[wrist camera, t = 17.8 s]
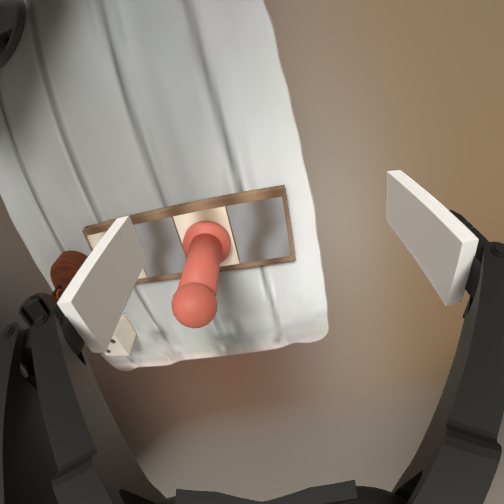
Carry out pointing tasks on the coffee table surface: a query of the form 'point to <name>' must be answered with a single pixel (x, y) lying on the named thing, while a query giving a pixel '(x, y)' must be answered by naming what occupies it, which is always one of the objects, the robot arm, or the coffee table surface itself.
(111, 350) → the die
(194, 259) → the pawn
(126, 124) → the coffee table surface
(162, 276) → the board
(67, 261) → the music box
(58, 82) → the coffee table surface
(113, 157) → the coffee table surface
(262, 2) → the coffee table surface
